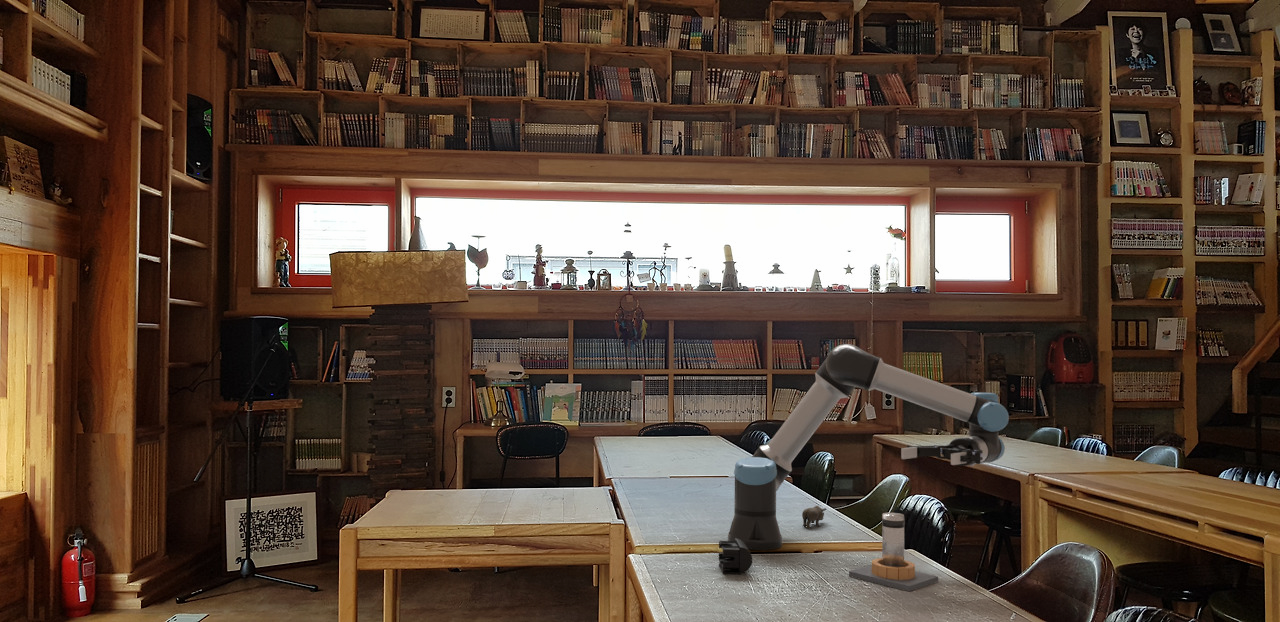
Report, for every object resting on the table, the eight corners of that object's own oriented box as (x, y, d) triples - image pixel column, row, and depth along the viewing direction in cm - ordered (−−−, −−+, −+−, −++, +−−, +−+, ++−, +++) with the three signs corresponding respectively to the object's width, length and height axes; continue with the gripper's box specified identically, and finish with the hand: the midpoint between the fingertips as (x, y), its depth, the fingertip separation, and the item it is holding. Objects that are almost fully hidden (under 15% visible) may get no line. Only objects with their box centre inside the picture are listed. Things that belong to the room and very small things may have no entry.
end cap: (752, 575, 194) (752, 547, 195) (723, 575, 194) (723, 546, 195) (746, 565, 204) (746, 538, 205) (718, 564, 204) (718, 537, 205)
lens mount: (848, 576, 195) (848, 560, 195) (878, 567, 204) (878, 552, 204) (909, 591, 183) (909, 574, 183) (938, 581, 192) (938, 565, 192)
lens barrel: (877, 573, 194) (877, 514, 194) (889, 569, 197) (889, 511, 198) (897, 578, 190) (897, 517, 191) (908, 574, 193) (908, 515, 194)
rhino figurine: (830, 523, 259) (830, 504, 259) (811, 529, 248) (811, 509, 248) (818, 521, 261) (818, 502, 262) (798, 527, 251) (799, 508, 251)
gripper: (1013, 470, 210) (974, 477, 196) (924, 460, 228) (883, 465, 214) (1013, 441, 210) (974, 446, 196) (924, 433, 229) (883, 437, 215)
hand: (926, 456), depth 205 cm, fingers open, 13 cm apart
